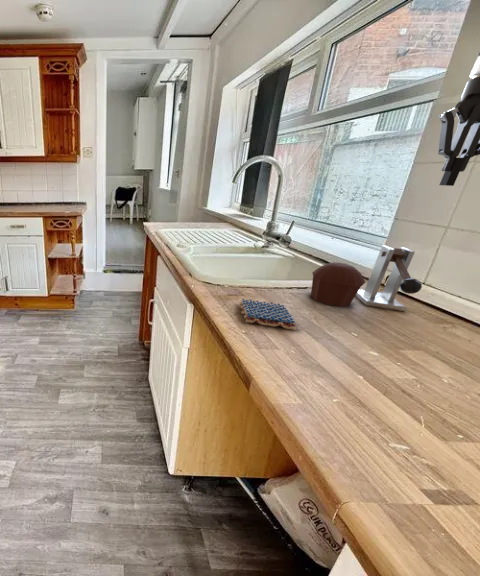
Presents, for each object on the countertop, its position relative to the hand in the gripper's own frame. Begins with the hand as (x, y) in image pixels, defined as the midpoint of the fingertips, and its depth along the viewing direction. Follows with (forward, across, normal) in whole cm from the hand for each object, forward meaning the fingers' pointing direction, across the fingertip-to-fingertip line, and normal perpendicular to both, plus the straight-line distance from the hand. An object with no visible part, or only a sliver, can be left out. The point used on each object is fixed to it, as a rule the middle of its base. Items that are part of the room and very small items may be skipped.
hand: (446, 185), depth 78 cm
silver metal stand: (+30, -9, -10) cm, 33 cm away
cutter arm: (+21, -9, -15) cm, 28 cm away
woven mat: (+30, -39, -35) cm, 61 cm away
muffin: (+30, -21, -15) cm, 40 cm away
